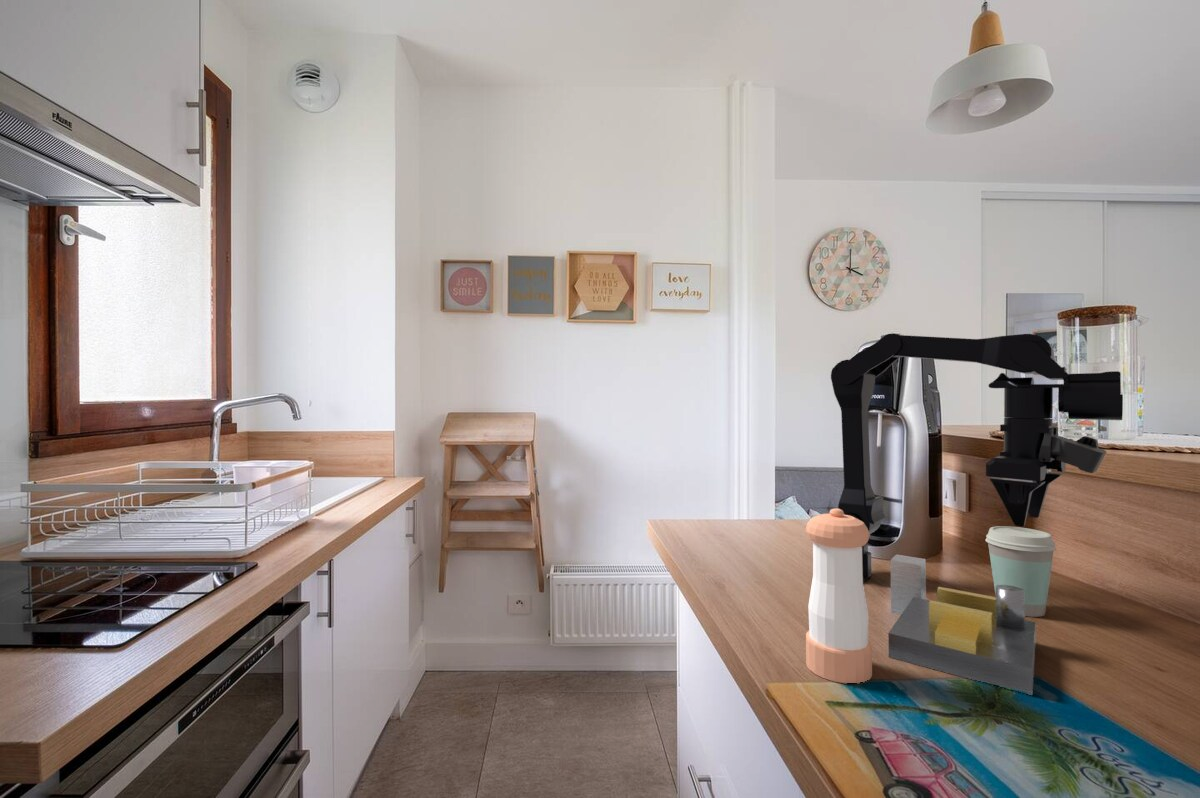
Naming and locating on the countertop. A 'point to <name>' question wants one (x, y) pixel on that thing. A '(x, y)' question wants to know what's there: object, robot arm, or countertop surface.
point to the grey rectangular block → (907, 581)
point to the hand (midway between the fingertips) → (1027, 521)
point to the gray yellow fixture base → (969, 636)
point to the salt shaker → (838, 600)
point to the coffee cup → (1022, 563)
